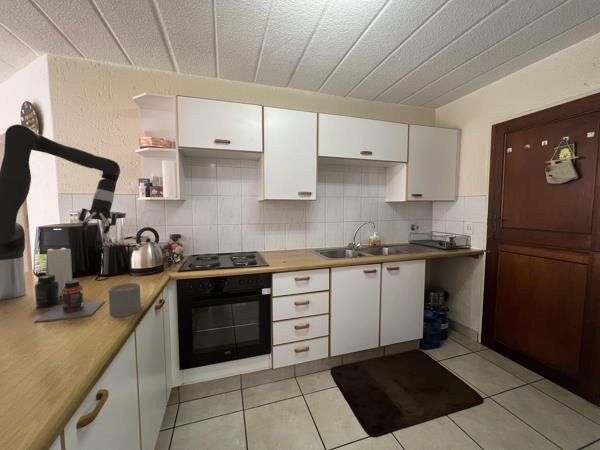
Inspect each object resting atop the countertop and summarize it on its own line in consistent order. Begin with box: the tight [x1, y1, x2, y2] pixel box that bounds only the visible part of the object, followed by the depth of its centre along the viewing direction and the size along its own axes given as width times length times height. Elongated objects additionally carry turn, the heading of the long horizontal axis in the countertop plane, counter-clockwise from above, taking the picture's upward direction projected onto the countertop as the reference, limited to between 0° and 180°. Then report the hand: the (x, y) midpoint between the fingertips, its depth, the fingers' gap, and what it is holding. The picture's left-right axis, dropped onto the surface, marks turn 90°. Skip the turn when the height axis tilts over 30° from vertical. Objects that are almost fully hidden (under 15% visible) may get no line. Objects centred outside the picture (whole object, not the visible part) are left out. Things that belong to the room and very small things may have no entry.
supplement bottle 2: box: [61, 279, 85, 312], centre depth 95 cm, size 6×6×11 cm
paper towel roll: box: [46, 247, 73, 297], centre depth 110 cm, size 7×6×21 cm
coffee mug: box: [108, 282, 142, 318], centre depth 98 cm, size 13×10×10 cm
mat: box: [34, 300, 105, 324], centre depth 95 cm, size 16×14×1 cm
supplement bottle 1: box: [34, 274, 61, 309], centre depth 100 cm, size 7×7×12 cm
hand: (95, 232), depth 119 cm, fingers open, 8 cm apart
